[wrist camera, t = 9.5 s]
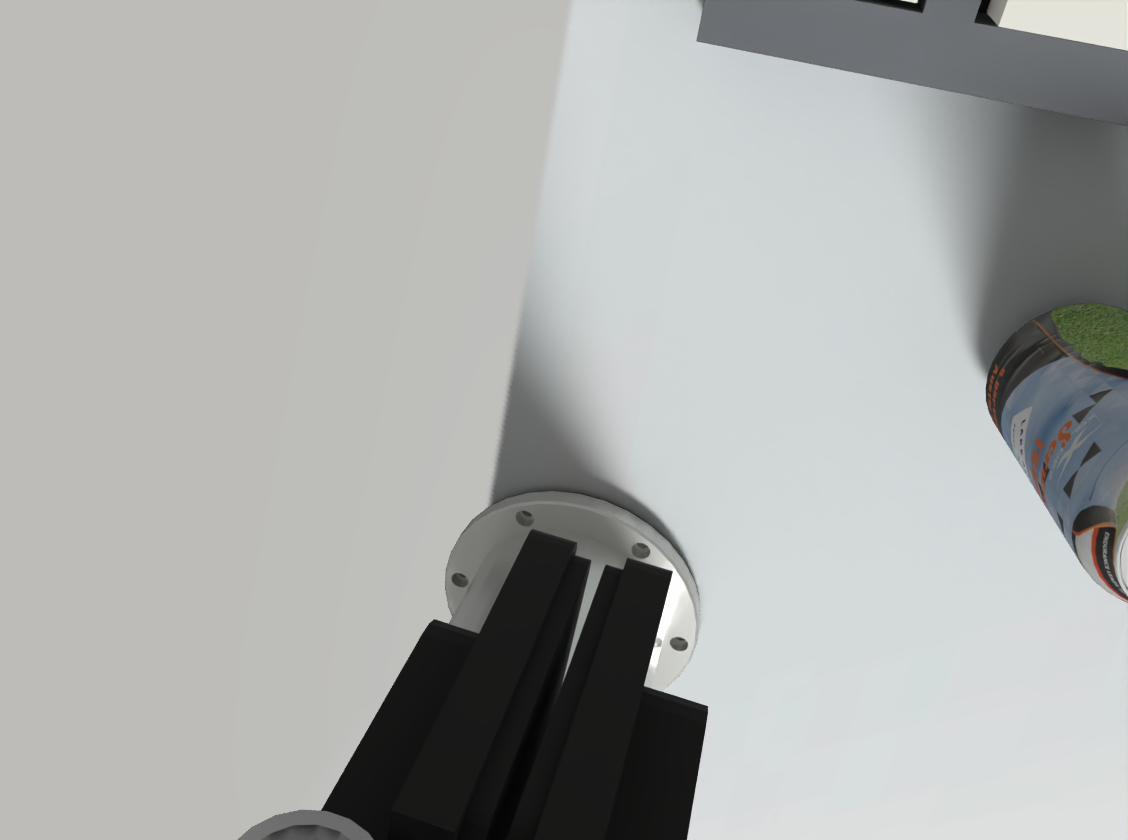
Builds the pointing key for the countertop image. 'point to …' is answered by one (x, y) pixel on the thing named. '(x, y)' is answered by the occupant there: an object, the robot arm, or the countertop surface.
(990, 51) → the board
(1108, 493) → the beverage can
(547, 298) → the countertop surface
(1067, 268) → the countertop surface
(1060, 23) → the middle key
